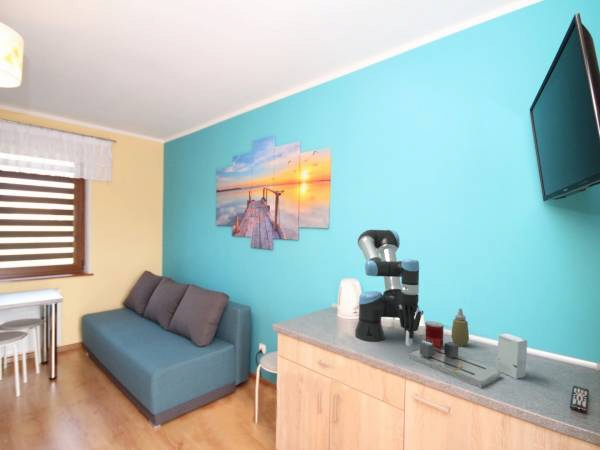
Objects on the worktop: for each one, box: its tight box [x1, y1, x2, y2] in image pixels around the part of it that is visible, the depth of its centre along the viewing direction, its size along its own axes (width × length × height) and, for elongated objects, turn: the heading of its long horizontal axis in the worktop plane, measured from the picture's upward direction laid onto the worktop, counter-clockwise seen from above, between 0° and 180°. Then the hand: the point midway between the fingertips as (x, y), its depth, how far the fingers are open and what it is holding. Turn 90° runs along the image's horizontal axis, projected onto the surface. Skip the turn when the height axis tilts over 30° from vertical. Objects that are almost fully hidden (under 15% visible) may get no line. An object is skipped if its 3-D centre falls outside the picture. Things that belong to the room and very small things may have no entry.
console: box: [409, 341, 502, 389], centre depth 128 cm, size 30×16×8 cm, turn 35°
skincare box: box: [495, 333, 528, 380], centre depth 123 cm, size 8×6×15 cm
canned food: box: [425, 320, 444, 349], centre depth 151 cm, size 8×8×11 cm
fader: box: [419, 340, 434, 357], centre depth 132 cm, size 4×4×5 cm
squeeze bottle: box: [450, 307, 470, 347], centre depth 154 cm, size 8×8×18 cm
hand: (408, 344), depth 140 cm, fingers closed
